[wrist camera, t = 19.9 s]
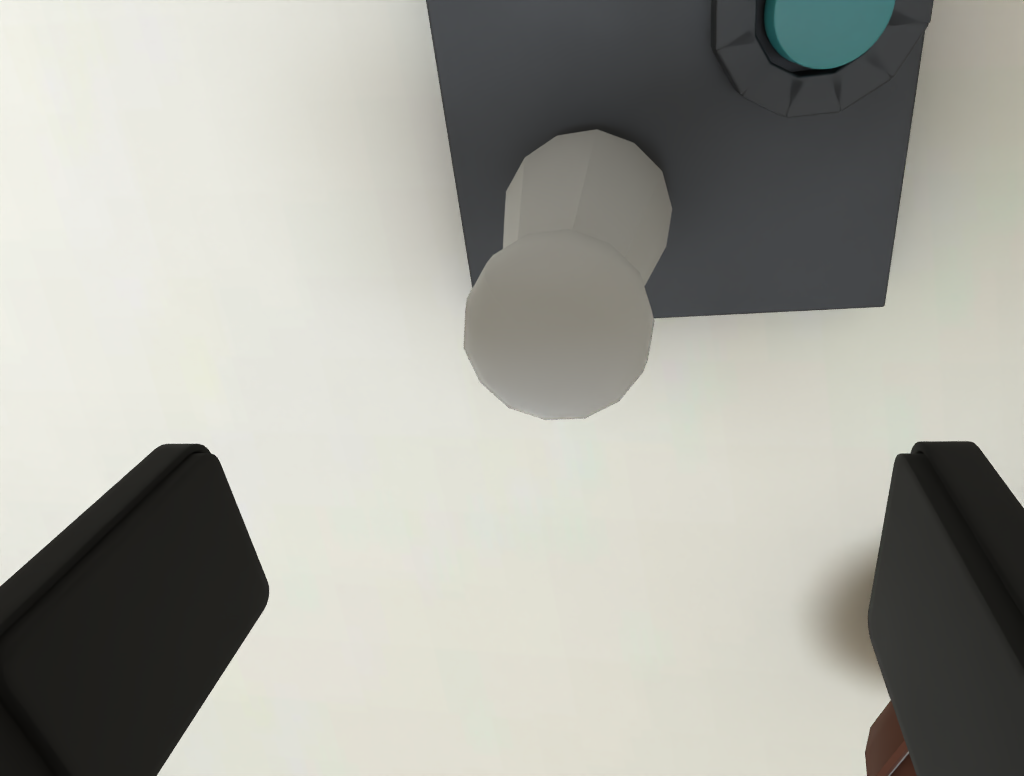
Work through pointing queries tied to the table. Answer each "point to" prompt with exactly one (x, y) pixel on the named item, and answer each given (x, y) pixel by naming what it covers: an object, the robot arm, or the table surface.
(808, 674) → the table surface
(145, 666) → the robot arm
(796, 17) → the button
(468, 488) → the table surface
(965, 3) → the table surface
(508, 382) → the salt shaker
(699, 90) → the scale
